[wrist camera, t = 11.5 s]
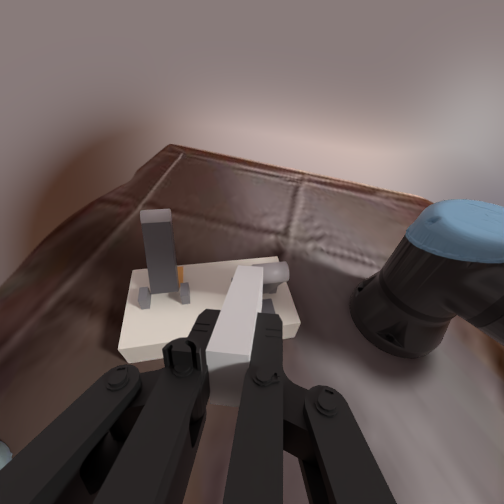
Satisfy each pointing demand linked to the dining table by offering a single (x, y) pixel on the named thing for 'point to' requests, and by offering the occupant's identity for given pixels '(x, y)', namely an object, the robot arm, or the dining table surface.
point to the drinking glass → (4, 455)
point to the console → (189, 306)
